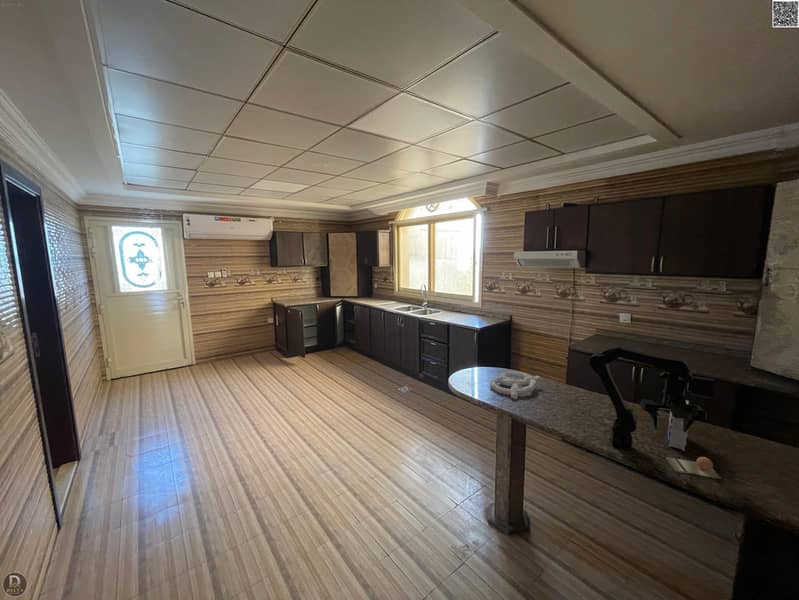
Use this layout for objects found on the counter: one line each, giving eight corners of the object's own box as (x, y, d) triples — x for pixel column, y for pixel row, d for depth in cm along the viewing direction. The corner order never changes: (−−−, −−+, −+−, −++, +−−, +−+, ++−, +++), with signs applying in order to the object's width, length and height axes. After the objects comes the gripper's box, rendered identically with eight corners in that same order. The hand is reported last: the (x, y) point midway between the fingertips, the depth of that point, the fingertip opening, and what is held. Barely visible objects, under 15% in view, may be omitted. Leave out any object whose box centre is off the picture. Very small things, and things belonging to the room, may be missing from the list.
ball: (700, 471, 117) (700, 460, 117) (693, 464, 121) (694, 453, 121) (715, 473, 116) (716, 462, 115) (708, 466, 120) (709, 455, 119)
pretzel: (520, 405, 173) (519, 394, 171) (483, 392, 191) (482, 382, 190) (546, 385, 189) (546, 374, 188) (510, 374, 208) (509, 365, 207)
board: (675, 471, 118) (675, 469, 118) (666, 458, 126) (666, 456, 126) (720, 479, 114) (721, 477, 114) (708, 465, 121) (708, 463, 121)
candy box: (667, 431, 144) (671, 396, 141) (684, 436, 140) (689, 400, 138) (667, 446, 133) (671, 408, 131) (686, 451, 130) (691, 413, 127)
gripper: (653, 396, 117) (648, 436, 119) (718, 403, 111) (712, 446, 113) (641, 384, 127) (637, 421, 130) (701, 390, 121) (695, 429, 124)
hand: (669, 429), depth 124 cm, fingers open, 9 cm apart
